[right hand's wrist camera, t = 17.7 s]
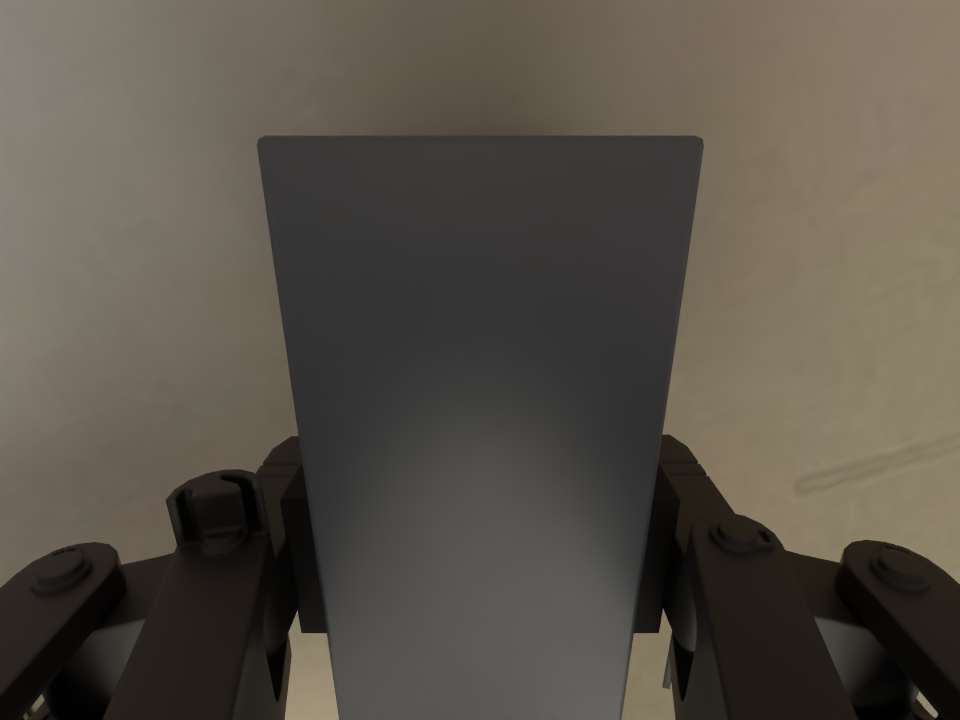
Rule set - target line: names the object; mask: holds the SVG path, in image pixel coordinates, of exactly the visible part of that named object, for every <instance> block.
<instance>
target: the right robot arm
mask: <svg viewBox="0 0 960 720" xmlns="http://www.w3.org/2000/svg"><path fill="white" fill-rule="evenodd" d="M166 503H167V507H168V511H169V515H170V519H171V523H172V526H173V530H174V534H175V538H176V542H177V548H176V550H175V553H172V554H168V555H165V556H161V557H156V558H152V559H147V560H142V561H138V562H133V563H129V564H124V565H121V562H120V559H119V556H118V553H117V551H116V550H115V549H114V548H113V547H111V546H110V545H109V544H103V543H97V542H92V543H83V544H76V545H72V546H68V547H66V548H61V549H59V550H56V551H53V552H51V553H50V554H48V555H46V556H43V557H41V558H39V559H37V560H35V561H34V562H32V563H31V564H29V565H28V566H27V567H25V568H24V569H22V570H21V571H20V572H18V573H17V574H16V575H15V576H13V577H12V578H11V579H10V580H9V581H8V582H7V583H6V584H5V585H3V586H2V587H1V588H0V720H284V719H285V710H286V701H287V692H288V683H289V673H290V664H291V655H292V654H291V647H290V641H289V635H288V632H289V630H290V627H291V625H292V622H293V620H294V617H295V615H296V612H297V610H298V614H299V620H300V626H301V632H302V633H327V630H326V623H325V616H324V609H323V602H322V595H321V588H320V581H319V574H318V567H317V560H316V553H315V546H314V539H313V532H312V525H311V518H310V511H309V504H308V497H307V490H306V483H305V477H304V470H303V463H302V456H301V449H300V442H299V436H291V437H290V438H288V439H287V440H285V441H284V442H282V443H281V444H279V445H278V446H276V447H275V448H273V450H272V451H271V452H270V454H269V455H268V457H267V458H266V459H265V461H264V462H263V466H261V467H260V468H259V469H258V471H257V472H256V474H254V473H253V472H248V471H244V470H221V471H216V472H211V473H207V474H204V475H201V476H199V477H196V478H194V479H191V480H189V481H187V482H186V483H184V484H183V485H181V486H180V487H178V488H177V489H175V490H174V491H173V492H172V493H171V495H170V496H169V497H168V498H167V499H166ZM663 609H664V611H665V614H666V616H667V619H668V621H669V623H670V626H671V628H672V635H671V641H670V646H669V652H668V658H667V663H666V669H665V675H664V681H663V688H667V689H670V684H671V681H672V690H673V700H674V709H675V718H676V720H960V584H959V583H957V582H956V581H955V580H954V579H953V578H952V577H951V576H950V575H948V574H947V573H946V572H945V571H944V570H942V569H941V568H940V567H938V566H937V565H935V564H934V563H933V562H931V561H930V560H928V559H927V558H925V557H923V556H921V555H919V554H916V553H914V552H912V551H910V550H909V549H907V548H904V547H901V546H898V545H897V546H896V545H895V544H890V543H887V542H880V541H871V540H863V541H857V542H852V543H851V544H849V545H848V546H847V547H846V548H845V549H844V551H843V554H842V558H841V561H840V563H838V562H833V561H829V560H824V559H819V558H814V557H810V556H805V555H800V554H797V553H793V552H790V551H786V550H785V549H784V547H783V545H782V543H781V542H780V541H779V539H778V538H777V537H776V535H775V534H774V533H773V532H772V531H770V530H769V529H768V528H766V527H765V526H764V525H762V524H761V523H759V522H756V521H754V520H752V519H750V518H748V517H745V516H742V515H738V514H735V513H734V512H733V510H732V509H731V507H730V506H729V504H728V503H727V502H726V500H725V499H724V497H723V496H722V495H721V493H720V492H719V490H718V489H717V488H716V486H715V485H714V483H713V482H712V481H711V479H710V478H709V476H706V472H705V471H704V469H703V468H702V467H701V465H700V464H698V461H697V460H696V458H695V457H694V455H693V454H692V453H691V451H690V450H689V448H688V447H687V446H685V445H684V444H682V443H681V442H679V441H678V440H676V439H675V438H674V437H672V436H671V435H662V439H661V446H660V453H659V460H658V467H657V474H656V481H655V488H654V495H653V502H652V509H651V516H650V523H649V530H648V537H647V544H646V550H645V557H644V564H643V571H642V578H641V585H640V592H639V599H638V606H637V613H636V620H635V627H634V633H659V629H660V623H661V617H662V610H663ZM919 691H920V692H921V693H922V694H923V696H924V697H925V698H926V699H927V700H928V702H929V703H930V704H931V705H932V706H933V708H934V709H935V710H936V711H937V712H938V716H937V717H936V718H934V717H933V716H932V715H931V714H930V713H929V712H928V711H927V710H926V709H925V708H924V707H923V706H922V705H921V703H920V702H919V701H918V700H917V696H918V693H919ZM41 694H43V697H44V699H45V701H44V702H43V703H42V705H41V706H40V707H39V708H38V710H37V711H36V712H35V713H34V714H32V715H31V716H30V717H28V715H27V713H26V712H27V711H28V710H29V709H30V707H31V706H32V705H33V704H34V702H35V701H36V700H37V699H38V698H39V696H40V695H41Z"/></svg>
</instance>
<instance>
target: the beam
mask: <svg viewBox="0 0 960 720" xmlns="http://www.w3.org/2000/svg"><path fill="white" fill-rule="evenodd" d="M703 147H704V145H703V140H702V139H701V138H699V137H697V136H264V137H262V138H259V139H258V144H257V148H258V155H259V162H260V169H261V176H262V183H263V190H264V197H265V204H266V211H267V218H268V225H269V232H270V239H271V246H272V253H273V260H274V267H275V274H276V281H277V288H278V295H279V302H280V309H281V316H282V323H283V330H284V337H285V344H286V351H287V358H288V365H289V372H290V379H291V386H292V393H293V400H294V407H295V414H296V421H297V428H298V435H299V442H300V449H301V456H302V463H303V470H304V477H305V483H306V490H307V497H308V504H309V511H310V518H311V525H312V532H313V539H314V546H315V553H316V560H317V567H318V574H319V581H320V588H321V595H322V602H323V609H324V616H325V623H326V630H327V637H328V644H329V651H330V658H331V665H332V672H333V679H334V686H335V693H336V700H337V707H338V714H339V720H621V717H622V710H623V703H624V696H625V689H626V683H627V676H628V669H629V662H630V655H631V648H632V641H633V634H634V627H635V620H636V613H637V606H638V599H639V592H640V585H641V578H642V571H643V564H644V557H645V550H646V544H647V537H648V530H649V523H650V516H651V509H652V502H653V495H654V488H655V481H656V474H657V467H658V460H659V453H660V446H661V439H662V432H663V425H664V418H665V411H666V405H667V398H668V391H669V384H670V377H671V370H672V363H673V356H674V349H675V342H676V335H677V328H678V321H679V314H680V307H681V300H682V293H683V286H684V279H685V272H686V266H687V259H688V252H689V245H690V238H691V231H692V224H693V217H694V210H695V203H696V196H697V189H698V182H699V175H700V168H701V161H702V154H703Z"/></svg>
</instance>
